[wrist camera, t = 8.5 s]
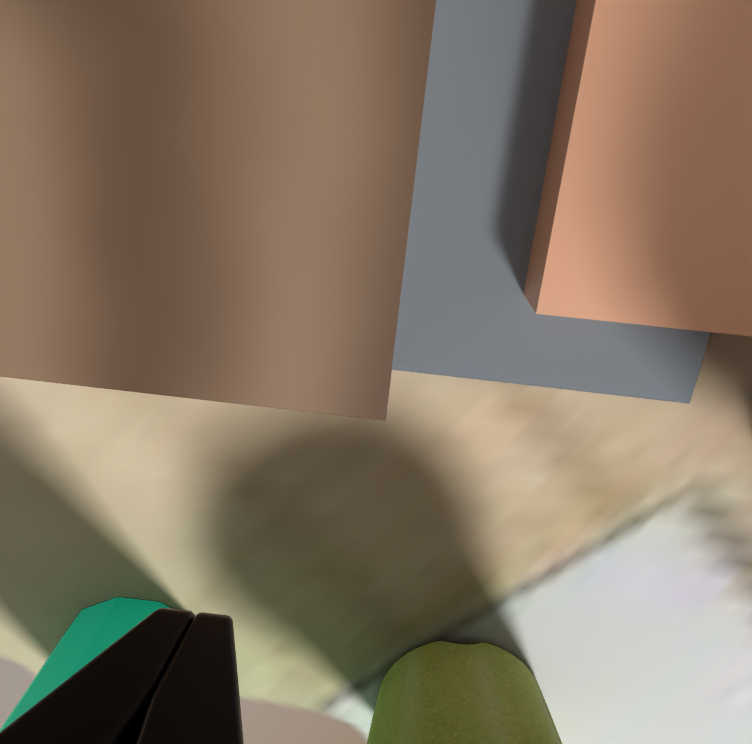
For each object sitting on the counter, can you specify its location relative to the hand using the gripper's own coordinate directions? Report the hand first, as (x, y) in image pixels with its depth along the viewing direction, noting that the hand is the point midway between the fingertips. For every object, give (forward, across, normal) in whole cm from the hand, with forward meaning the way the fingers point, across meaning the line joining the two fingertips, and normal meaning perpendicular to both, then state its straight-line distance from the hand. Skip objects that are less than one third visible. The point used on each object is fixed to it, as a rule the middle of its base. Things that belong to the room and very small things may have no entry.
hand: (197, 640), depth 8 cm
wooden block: (+13, +4, -6) cm, 15 cm away
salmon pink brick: (+11, -8, -6) cm, 15 cm away
